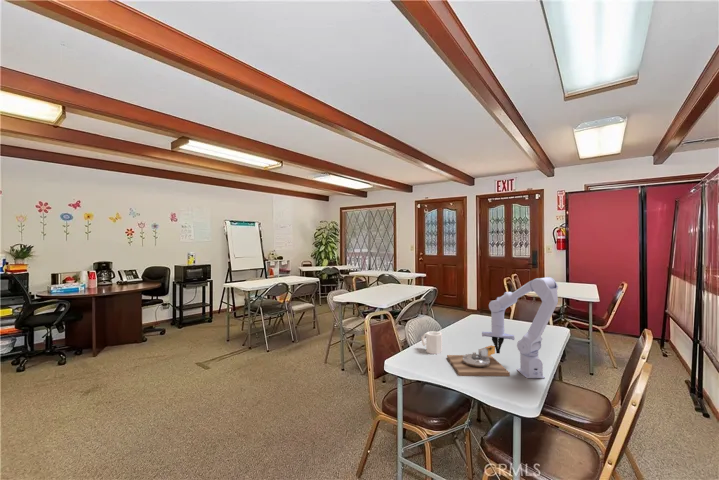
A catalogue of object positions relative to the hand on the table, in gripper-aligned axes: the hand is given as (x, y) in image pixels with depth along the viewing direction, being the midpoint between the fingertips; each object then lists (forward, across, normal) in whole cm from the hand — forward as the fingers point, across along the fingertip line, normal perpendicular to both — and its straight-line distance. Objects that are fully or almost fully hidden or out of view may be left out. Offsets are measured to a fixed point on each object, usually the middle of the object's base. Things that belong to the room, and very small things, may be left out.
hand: (498, 352), depth 156 cm
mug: (+5, +34, -4) cm, 34 cm away
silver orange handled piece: (+3, +7, +6) cm, 10 cm away
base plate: (+5, +9, +9) cm, 14 cm away
